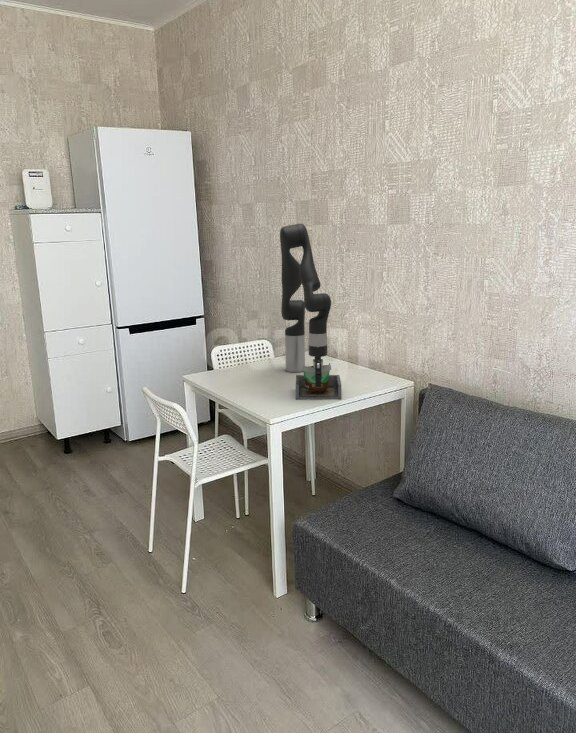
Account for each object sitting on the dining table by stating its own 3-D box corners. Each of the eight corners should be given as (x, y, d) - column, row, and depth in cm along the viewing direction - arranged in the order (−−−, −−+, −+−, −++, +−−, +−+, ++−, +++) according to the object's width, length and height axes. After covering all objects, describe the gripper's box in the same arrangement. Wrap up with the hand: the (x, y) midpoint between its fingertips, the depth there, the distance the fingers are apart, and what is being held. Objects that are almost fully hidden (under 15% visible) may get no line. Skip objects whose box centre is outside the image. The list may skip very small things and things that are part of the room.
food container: (305, 392, 239) (305, 368, 237) (301, 388, 245) (301, 364, 243) (335, 390, 242) (335, 366, 240) (330, 386, 248) (330, 362, 246)
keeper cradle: (296, 389, 253) (296, 375, 252) (339, 388, 253) (339, 374, 251) (295, 399, 239) (295, 384, 237) (341, 399, 238) (341, 384, 237)
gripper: (308, 340, 247) (308, 379, 251) (308, 347, 233) (308, 389, 237) (326, 340, 247) (326, 379, 251) (327, 347, 233) (328, 389, 237)
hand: (318, 384), depth 244 cm, fingers closed on food container, 5 cm apart
